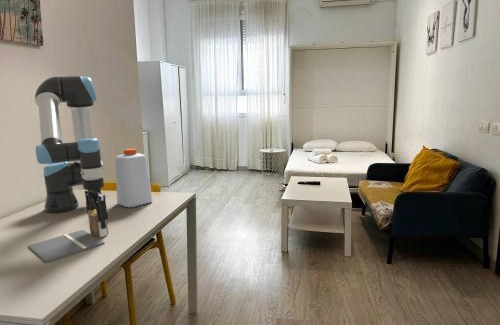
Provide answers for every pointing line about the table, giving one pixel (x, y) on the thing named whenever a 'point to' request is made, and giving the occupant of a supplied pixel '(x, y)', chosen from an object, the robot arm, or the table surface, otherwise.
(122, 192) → the plastic bottle
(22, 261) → the table surface
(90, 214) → the block
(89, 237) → the mat
